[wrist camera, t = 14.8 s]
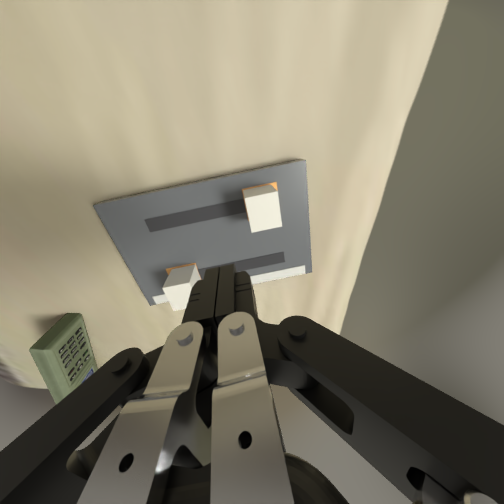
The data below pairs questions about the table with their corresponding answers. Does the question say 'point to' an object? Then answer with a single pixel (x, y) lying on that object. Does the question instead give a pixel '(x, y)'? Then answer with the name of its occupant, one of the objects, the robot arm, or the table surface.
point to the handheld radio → (64, 356)
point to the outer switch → (180, 286)
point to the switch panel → (211, 228)
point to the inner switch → (263, 208)
